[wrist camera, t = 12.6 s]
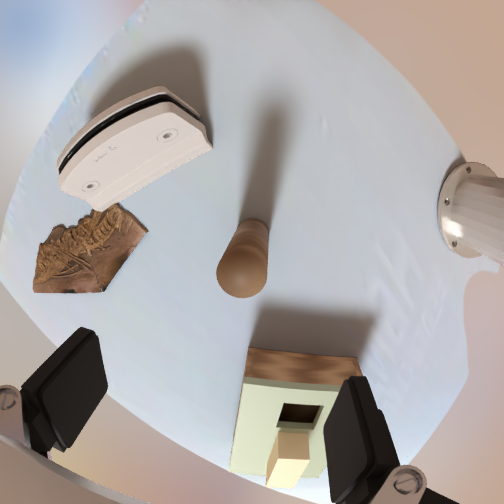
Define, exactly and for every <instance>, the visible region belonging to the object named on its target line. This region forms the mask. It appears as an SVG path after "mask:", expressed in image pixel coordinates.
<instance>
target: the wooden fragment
mask: <svg viewBox="0 0 504 504" xmlns="http://www.w3.org/2000/svg"><path fill="white" fill-rule="evenodd" d="M147 232H149V231H148V230H146V229H145V228H144V226H142V224H141V223H140V222H139V221H138V220H137V219H136V217H135V216H134V215H133V214H132V213H130V212H127V211H124V210H123V209H122V208H121V207H120V206H119V205H118V204H117V203H114V204H113V205H111V206H110V207H109V208H107V209H106V210H104V211H103V212H100V211H96V210H93V211H92V212H91V213H90V216H89V217H87V218H84V219H83V220H80V221H78V227H76V228H70V229H68V230H67V229H66V228H64V227H61V226H60V227H56V228H55V229H53V230H52V232H51V234H50V235H49V238H48V239H47V241H45V243H44V244H40V245H39V252H38V256H37V262H36V263H37V265H36V270H35V278H34V280H33V291H34V293H88V292H89V293H90V292H92V293H98V292H102V291H103V292H104V291H105V290H106V288H107V286H108V285H109V283H110V282H111V280H112V279H113V278H114V276H115V275H116V273H117V272H118V270H119V269H120V268H121V266H122V265H123V264H124V262H125V261H126V260H127V258H128V256H129V255H130V254H131V253H132V251H133V250H134V248H135V247H136V246H137V244H138V243H139V242H140V240H141V238H143V236H144V235H145V233H147ZM100 287H101V288H102V291H101V289H100Z"/></svg>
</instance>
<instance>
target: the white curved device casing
mask: <svg viewBox="0 0 504 504" xmlns="http://www.w3.org/2000/svg"><path fill="white" fill-rule="evenodd" d="M200 117H201V116H200V115H199V113H198V112H197V111H196V110H195V109H194V108H192V107H191V106H190V105H188V104H187V103H186V102H184V101H183V100H182V99H180V98H179V97H178V96H176V95H175V94H174V93H172V92H171V91H170V90H168V89H167V88H166V87H164V86H156V87H153V88H150V89H147V90H144V91H142V92H139V93H137V94H134V95H132V96H130V97H128V98H126V99H124V100H122V101H120V102H118V103H116V104H114V105H112V106H111V107H109V108H107V109H106V110H104V111H103V112H101V113H100V114H99V115H97V116H96V117H94V118H93V119H92V120H91V121H89V122H88V123H87V124H86V125H85V126H84V127H83V128H82V129H81V130H79V131H78V132H77V133H76V135H75V136H74V137H73V138H72V139H71V140H70V141H69V143H68V144H67V145H66V147H65V148H64V150H63V151H62V153H61V155H60V156H59V158H58V161H57V169H56V170H57V172H58V173H59V174H60V175H59V177H58V183H59V186H60V189H61V190H62V191H63V192H65V193H68V194H70V195H73V196H75V197H78V198H80V199H83V200H85V201H87V202H89V204H90V205H91V206H92V207H93V209H94V210H96V211H100V212H103V211H104V210H106V209H107V208H109V207H110V206H111V205H113V204H114V203H119V202H120V201H122V200H123V199H125V198H127V197H128V196H130V195H131V194H133V193H135V192H136V191H138V190H139V189H141V188H143V187H144V186H146V185H148V184H149V183H151V182H153V181H155V180H156V179H158V178H160V177H161V176H163V175H165V174H167V173H168V172H170V171H172V170H174V169H176V168H177V167H179V166H181V165H183V164H185V163H187V162H188V161H190V160H192V159H194V158H196V157H198V156H200V155H202V154H204V153H206V152H208V151H209V150H211V149H213V147H212V144H211V143H210V142H209V141H208V140H207V135H206V129H205V126H204V125H203V124H202V123H200V122H199V121H198V120H199V119H198V118H200Z"/></svg>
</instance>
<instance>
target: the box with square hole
mask: <svg viewBox="0 0 504 504" xmlns="http://www.w3.org/2000/svg"><path fill="white" fill-rule="evenodd" d="M350 376H363V375H362V372H361V369H360V367H359V364H358V361H357V359H356V358H350V357H335V356H322V355H311V354H300V353H291V352H282V351H274V350H266V349H258V348H251V347H248V353H247V360H246V366H245V372H244V377H252V378H260V379H268V380H277V381H286V382H297V383H309V384H324V385H342V384H343V382H344V380H345V379H349V377H350ZM243 383H244V378H243ZM242 389H243V384H242ZM241 395H242V390H241ZM240 401H241V396H240ZM239 407H240V402H239ZM319 408H320V405H304V404H291V403H283V406H282V410H281V413H280V416H279V419H278V421H284V422H299V423H313V422H314V419H315V417H316V415H317V412H318V410H319ZM238 413H239V408H238ZM237 418H238V414H237ZM236 424H237V420H236ZM235 430H236V426H235ZM234 436H235V432H234ZM233 442H234V438H233ZM232 447H233V445H232ZM231 453H232V451H231ZM230 459H231V458H230ZM229 465H230V464H229Z"/></svg>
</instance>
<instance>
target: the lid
mask: <svg viewBox="0 0 504 504" xmlns="http://www.w3.org/2000/svg"><path fill="white" fill-rule="evenodd" d="M341 386H342V385H324V384H309V383H297V382H286V381H277V380H268V379H260V378H252V377H244V383H243V389H242V395H241V401H240V407H239V413H238V418H237V424H236V430H235V436H234V442H233V447H232V453H231V459H230V465H229V471H228V472H233V473H241V474H250V475H260V476H266V487H277V488H294V486H295V484H296V483H297V481H298V480H299V478H319V476H320V475H321V473H322V472H323V470H324V469H325V467H326V466H327V459H326V451H325V443H324V435H323V427H324V424H325V421H326V419H327V417H328V415H329V413H330V411H331V409H332V407H333V404H334V402H335V400H336V398H337V395H338V393H339V391H340V388H341ZM283 403H291V404H304V405H320V408H319V410H318V412H317V415H316V417H315V419H314V422H313V423H299V422H284V421H278V419H279V416H280V413H281V410H282V406H283Z"/></svg>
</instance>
